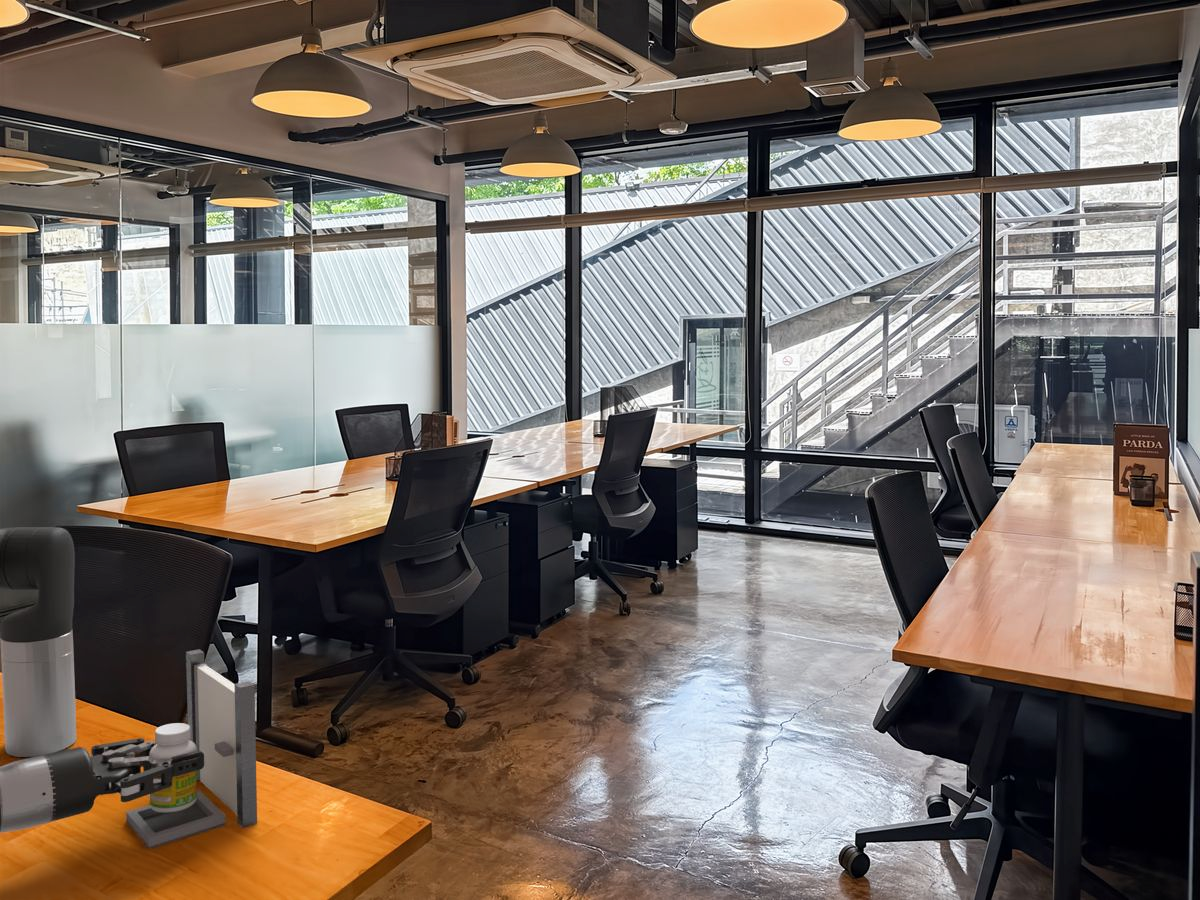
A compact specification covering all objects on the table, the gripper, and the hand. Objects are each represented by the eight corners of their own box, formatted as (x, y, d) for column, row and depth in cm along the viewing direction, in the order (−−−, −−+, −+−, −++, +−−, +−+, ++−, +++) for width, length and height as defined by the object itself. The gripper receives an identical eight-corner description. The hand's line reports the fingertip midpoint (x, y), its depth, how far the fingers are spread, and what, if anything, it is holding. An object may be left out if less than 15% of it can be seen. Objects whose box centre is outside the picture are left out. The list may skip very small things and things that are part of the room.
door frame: (189, 777, 130) (185, 651, 128) (202, 773, 131) (199, 649, 129) (243, 828, 116) (240, 687, 114) (257, 823, 117) (254, 684, 115)
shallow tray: (126, 821, 117) (126, 811, 117) (199, 799, 123) (199, 790, 123) (149, 849, 110) (148, 838, 110) (225, 824, 116) (225, 815, 116)
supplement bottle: (178, 816, 113) (177, 738, 112) (139, 811, 114) (138, 734, 113) (206, 797, 118) (205, 722, 117) (168, 792, 119) (167, 718, 118)
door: (185, 780, 127) (182, 667, 126) (207, 774, 129) (204, 662, 128) (226, 820, 116) (224, 696, 115) (249, 813, 118) (247, 691, 117)
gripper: (56, 778, 100) (215, 739, 112) (27, 738, 111) (175, 707, 122) (58, 844, 101) (216, 799, 112) (29, 799, 111) (175, 762, 123)
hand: (194, 751), depth 117 cm, fingers closed on supplement bottle, 5 cm apart
